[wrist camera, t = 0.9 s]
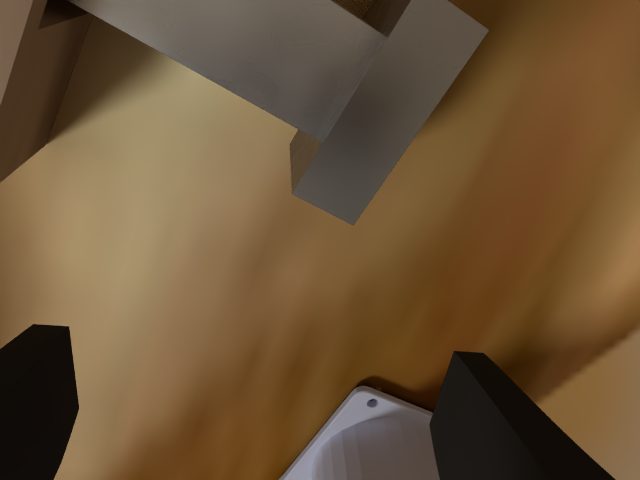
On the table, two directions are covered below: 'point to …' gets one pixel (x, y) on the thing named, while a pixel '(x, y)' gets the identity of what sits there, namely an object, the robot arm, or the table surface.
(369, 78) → the steel key pin
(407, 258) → the table surface
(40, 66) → the walnut tunnel block
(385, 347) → the table surface
